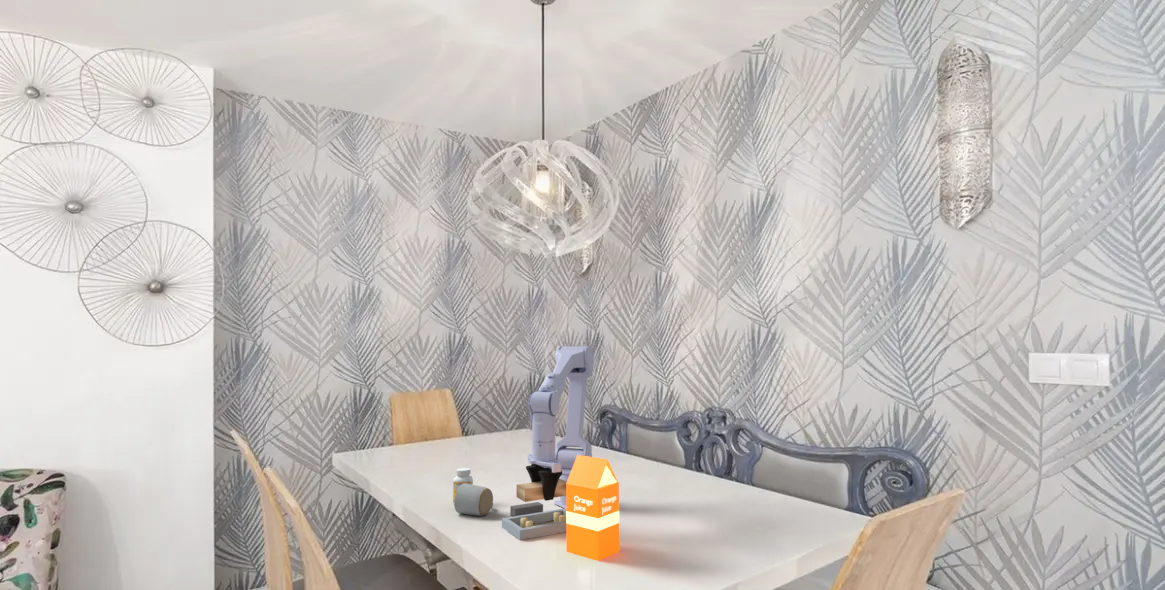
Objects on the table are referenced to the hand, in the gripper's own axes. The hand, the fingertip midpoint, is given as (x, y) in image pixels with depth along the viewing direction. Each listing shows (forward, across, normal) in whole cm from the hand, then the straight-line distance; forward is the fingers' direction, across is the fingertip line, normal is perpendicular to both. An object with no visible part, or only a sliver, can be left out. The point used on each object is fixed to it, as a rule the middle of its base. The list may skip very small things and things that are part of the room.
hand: (543, 497), depth 145 cm
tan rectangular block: (0, 0, 0) cm, 0 cm away
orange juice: (+8, +20, +2) cm, 21 cm away
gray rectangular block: (+7, -12, +1) cm, 14 cm away
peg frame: (+7, 0, 0) cm, 7 cm away
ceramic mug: (+8, -21, -10) cm, 24 cm away
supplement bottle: (+8, -31, -10) cm, 33 cm away
